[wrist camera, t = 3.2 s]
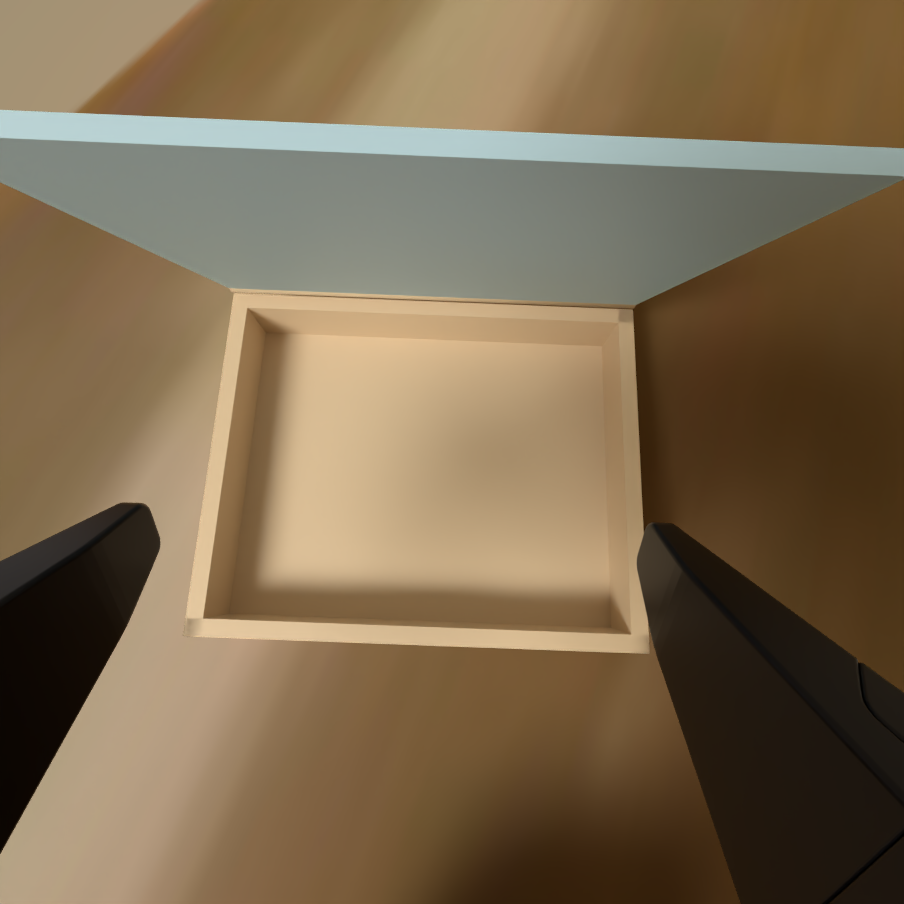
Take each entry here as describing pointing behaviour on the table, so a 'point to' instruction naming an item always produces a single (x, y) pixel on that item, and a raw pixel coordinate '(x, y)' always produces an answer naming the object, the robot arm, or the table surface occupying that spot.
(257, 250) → the lid
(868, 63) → the table surface
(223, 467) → the wooden tray
